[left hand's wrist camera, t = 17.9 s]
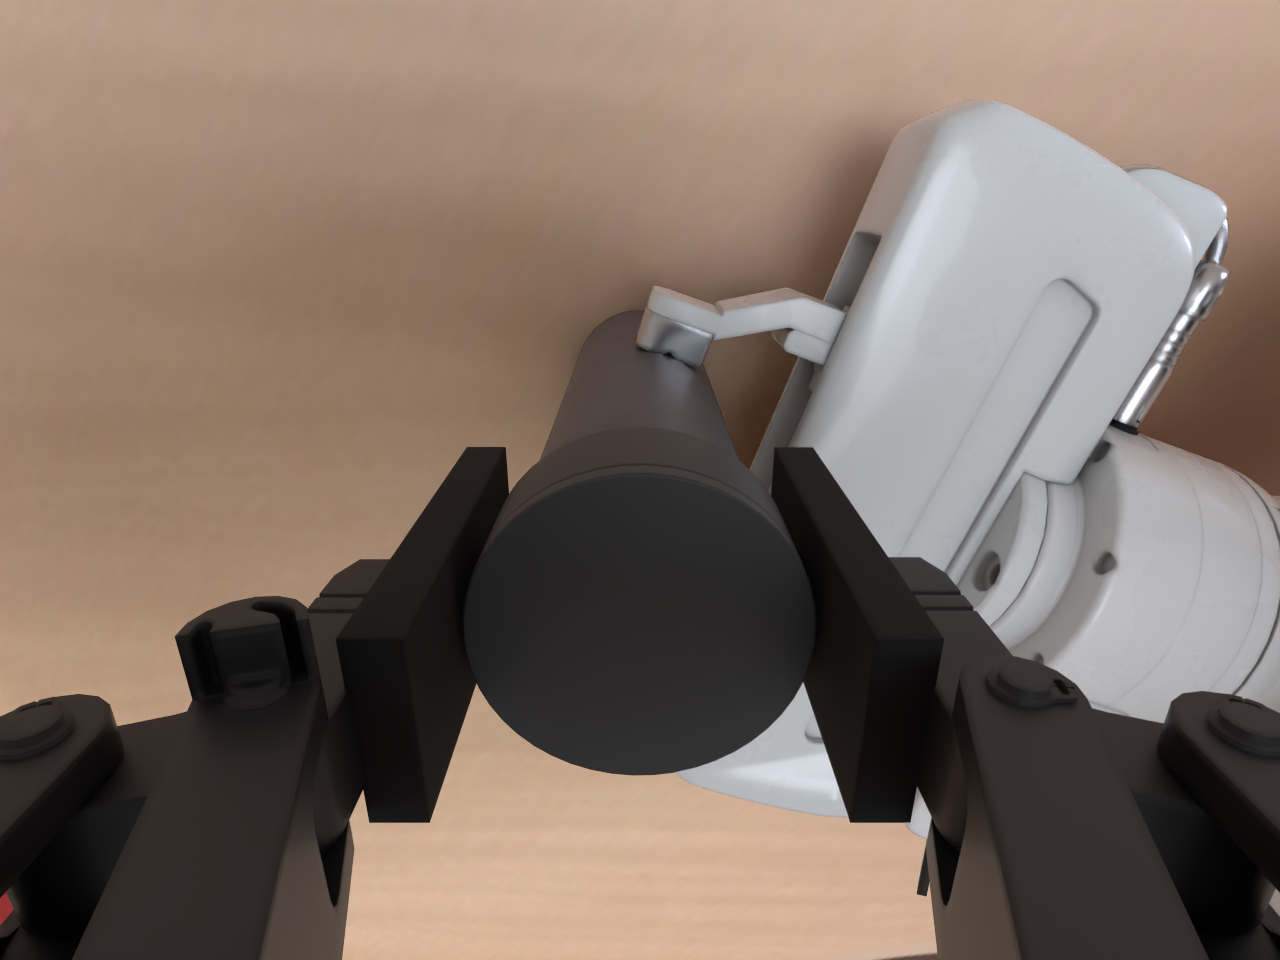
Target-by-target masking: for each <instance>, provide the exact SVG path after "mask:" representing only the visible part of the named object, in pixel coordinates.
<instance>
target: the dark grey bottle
mask: <svg viewBox="0 0 1280 960" xmlns="http://www.w3.org/2000/svg"><path fill="white" fill-rule="evenodd" d="M643 314H644V311H638V310H637V311H628V312H624V313H620V314H618V315H615V316H613V317H611V318H609V319H607V320H606V321H604V322H603V323H602V324H600V325H599V326H598V327H597V328H596V329H595V330H594V331H593V332H592V333H591V334H590V336H589V337H588V339H587V340H586V342H585V344H584V346H583V348H582V350H581V353H580V355H579V358H578V361H577V363H576V366H575V369H574V371H573V374H572V377H571V379H570V382H569V385H568V387H567V390H566V393H565V395H564V398H563V401H562V403H561V406H560V408H559V411H558V414H557V416H556V419H555V422H554V424H553V427H552V430H551V432H550V435H549V438H548V440H547V443H546V446H545V448H544V451H543V454H542V456H541V459H540V460H542V459H543V458H544V457H545V456H547V455H548V454H550V453H551V452H553V451H555V450H556V449H558V448H560V447H561V446H563V445H565V444H567V443H570V442H572V441H574V440H577V439H579V438H581V437H584V436H587V435H590V434H594V433H598V432H601V431H605V430H612V429H618V428H625V427H651V428H661V429H669V430H673V431H677V432H682V433H686V434H689V435H692V436H695V437H698V438H700V439H703V440H706V441H708V442H710V443H712V444H714V445H716V446H718V447H719V448H721V449H723V450H725V451H727V452H728V453H729V454H731V455H732V456H734V457H735V458H736V459H738V460H739V458H738V455H737V453H736V450H735V447H734V445H733V442H732V439H731V437H730V434H729V431H728V429H727V426H726V423H725V421H724V418H723V416H722V413H721V410H720V408H719V405H718V402H717V400H716V397H715V394H714V392H713V389H712V386H711V384H710V381H709V378H708V376H707V373H706V370H705V368H704V365H703V363H702V366H701V368H700V369H699V368H696V367H693V366H690V365H687V364H684V363H682V362H680V361H678V360H675V358H674V357H673V355H672V354H671V353H670V352H669V353H665V354H662V355H661V354H657V353H653V352H650V351H647V350H645V349H643V348H641V347H639V346H638V345H637V344H636V336H637V333H638V330H639V327H640V324H641V321H642V318H643Z"/></svg>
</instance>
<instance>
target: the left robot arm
mask: <svg viewBox="0 0 1280 960" xmlns="http://www.w3.org/2000/svg"><path fill="white" fill-rule="evenodd" d="M508 495H509V488H508V474H507V460H506V447H467V448H466V449H465V451H464V452H463V454H462V455H461V457H460V458H459V460H458V461H457V463H456V464H455V466H454V467H453V468H452V470H451V471H450V473H449V474H448V476H447V477H446V479H445V480H444V482H443V483H442V484H441V486H440V487H439V489H438V490H437V492H436V493H435V495H434V496H433V498H432V499H431V501H430V502H429V503H428V505H427V506H426V508H425V509H424V511H423V512H422V514H421V515H420V517H419V518H418V520H417V521H416V522H415V524H414V525H413V527H412V528H411V530H410V531H409V533H408V534H407V536H406V537H405V538H404V540H403V541H402V543H401V544H400V546H399V547H398V549H397V550H396V552H395V553H394V555H393V556H392V557H391V559H360V560H359V561H357V562H355V563H354V564H352V565H350V566H349V567H347V568H346V569H344V570H342V571H341V572H339V573H338V574H336V575H334V577H333V578H332V579H331V580H330V582H329V583H328V584H327V585H326V587H325V588H324V589H323V590H322V592H321V593H320V597H319V598H316V599H315V600H314V602H313V603H312V604H311V605H310V607H309V608H308V609H307V607H306V606H304V605H303V604H302V603H300V602H299V601H297V600H296V599H291V598H286V597H281V596H266V597H253V598H248V599H243V600H239V601H234V602H230V603H227V604H225V605H222V606H219V607H217V608H214V609H211V610H209V611H206V612H205V613H203V614H202V615H200V616H198V617H197V618H195V619H193V620H192V621H190V622H188V623H187V624H186V625H185V626H184V627H183V628H182V629H181V630H180V631H179V633H178V634H177V635H176V636H175V639H176V643H177V646H178V650H179V653H180V657H181V660H182V664H183V668H184V671H185V675H186V678H187V682H188V685H189V689H190V692H191V696H192V699H193V700H192V702H191V704H190V706H189V709H188V711H187V712H184V713H180V714H176V715H172V716H167V717H162V718H157V719H152V720H147V721H142V722H137V723H132V724H127V725H122V726H117V725H116V722H115V719H114V716H113V713H112V710H111V707H110V704H108V703H107V702H106V701H104V700H103V699H101V698H100V697H99V696H91V695H82V694H75V695H67V696H59V697H51V698H47V699H42V700H39V702H32V703H29V704H26V705H23V706H21V707H18V708H17V709H16V710H14V711H12V712H10V713H7V714H5V715H3V716H1V717H0V898H1V897H2V896H3V895H4V894H5V892H6V894H7V896H8V898H9V900H10V903H11V905H12V907H13V909H14V910H13V911H12V912H11V913H10V914H9V916H8V917H7V918H6V919H5V920H4V922H3V923H2V924H1V925H0V960H342V954H343V945H344V936H345V927H346V918H347V909H348V900H349V891H350V883H351V874H352V865H353V856H354V844H353V838H352V832H351V827H350V822H349V819H350V816H351V814H352V812H353V810H354V808H355V806H356V804H357V801H358V799H359V797H360V795H361V793H362V791H363V790H364V796H365V801H366V806H367V812H368V817H369V823H430V820H431V817H432V814H433V811H434V808H435V805H436V802H437V799H438V796H439V793H440V790H441V787H442V784H443V781H444V778H445V775H446V772H447V769H448V766H449V763H450V760H451V757H452V754H453V751H454V748H455V745H456V743H457V740H458V737H459V734H460V731H461V728H462V725H463V722H464V719H465V716H466V713H467V710H468V707H469V704H470V701H471V698H472V695H473V692H474V689H475V686H476V680H475V678H474V676H473V674H472V672H471V669H470V666H469V662H468V659H467V655H466V652H465V647H464V639H463V632H462V625H463V607H464V601H465V595H466V590H467V587H468V585H469V582H470V579H471V576H472V573H473V570H474V568H475V566H476V564H477V561H478V559H479V557H480V554H481V552H482V550H483V548H484V545H485V543H486V541H487V539H488V536H489V534H490V532H491V530H492V527H493V525H494V523H495V521H496V518H497V516H498V514H499V512H500V510H501V508H502V506H503V504H504V502H505V500H506V498H507V496H508ZM771 497H772V498H773V500H774V502H775V503H776V505H777V507H778V509H779V511H780V514H781V516H782V518H783V520H784V523H785V525H786V527H787V529H788V532H789V534H790V536H791V538H792V541H793V543H794V545H795V548H796V550H797V552H798V554H799V557H800V559H801V561H802V563H803V566H804V568H805V571H806V573H807V576H808V578H809V581H810V583H811V587H812V591H813V595H814V599H815V604H816V617H817V630H816V643H815V648H814V652H813V656H812V660H811V664H810V666H809V669H808V672H807V674H806V677H805V679H804V682H803V683H804V686H805V689H806V692H807V695H808V698H809V701H810V704H811V707H812V710H813V713H814V716H815V719H816V722H817V725H818V728H819V731H820V734H821V737H822V740H823V743H824V746H825V749H826V752H827V754H828V757H829V760H830V763H831V766H832V769H833V772H834V775H835V778H836V781H837V784H838V787H839V790H840V793H841V796H842V799H843V802H844V805H845V808H846V811H847V814H848V817H849V820H850V823H910V822H911V817H912V812H913V806H914V801H915V795H916V790H917V787H918V789H919V791H920V793H921V796H922V798H923V800H924V802H925V804H926V806H927V808H928V811H929V813H930V815H931V822H930V827H929V832H928V837H927V842H926V847H925V852H924V857H923V862H922V867H921V872H920V877H919V883H918V889H917V894H918V895H923V896H927V891H928V886H929V881H930V890H931V899H932V907H933V916H934V925H935V934H936V943H937V952H938V960H1280V921H1279V920H1278V918H1277V917H1276V916H1275V915H1274V914H1273V912H1272V911H1271V910H1270V909H1269V908H1268V905H1269V903H1270V900H1271V898H1272V896H1273V894H1274V892H1275V889H1277V890H1278V892H1279V893H1280V713H1279V712H1277V711H1275V710H1272V709H1270V708H1268V707H1266V706H1265V705H1263V704H1261V703H1259V702H1256V701H1253V700H1250V699H1247V698H1246V699H1243V698H1242V697H1240V696H1236V695H1232V694H1224V693H1216V692H1208V691H1197V692H1189V693H1182V694H1181V695H1179V696H1178V697H1177V698H1175V699H1174V700H1172V701H1171V704H1170V707H1169V710H1168V713H1167V716H1166V719H1165V722H1164V723H1159V722H1154V721H1149V720H1144V719H1139V718H1134V717H1129V716H1124V715H1119V714H1114V713H1109V712H1105V711H1101V710H1097V709H1093V708H1092V707H1091V705H1090V703H1089V701H1088V699H1087V697H1086V696H1085V695H1084V694H1083V692H1082V691H1081V690H1080V688H1079V687H1078V686H1077V685H1076V684H1075V683H1074V682H1072V681H1071V680H1070V679H1068V678H1067V677H1065V676H1064V675H1062V674H1061V673H1060V672H1058V671H1056V670H1054V669H1052V668H1050V667H1047V666H1045V665H1043V664H1040V663H1038V662H1036V661H1033V660H1029V659H1024V658H1020V657H1016V656H1013V655H1012V654H1011V653H1010V652H1009V650H1008V649H1007V648H1006V647H1005V645H1004V644H1003V643H1002V642H1001V640H1000V639H999V638H998V637H997V636H996V634H995V633H994V632H993V631H992V629H991V628H990V627H989V626H988V624H987V623H986V622H985V621H984V619H983V618H982V617H981V616H980V615H979V613H978V612H977V611H974V610H973V606H972V605H971V603H970V602H969V601H968V600H967V598H966V597H965V596H964V595H961V591H960V590H959V589H958V587H957V586H956V585H955V584H954V582H953V581H952V580H951V579H950V577H949V576H948V575H947V574H946V573H945V572H943V571H942V570H940V569H939V568H937V567H935V566H934V565H932V564H930V563H929V562H927V561H926V560H924V559H922V558H921V557H888V556H887V555H886V553H885V552H884V550H883V549H882V547H881V546H880V544H879V543H878V541H877V540H876V538H875V537H874V536H873V534H872V533H871V531H870V530H869V528H868V527H867V525H866V524H865V522H864V521H863V520H862V518H861V517H860V515H859V514H858V512H857V511H856V509H855V508H854V506H853V505H852V503H851V502H850V501H849V499H848V498H847V496H846V495H845V493H844V492H843V490H842V489H841V487H840V486H839V485H838V483H837V482H836V480H835V479H834V477H833V476H832V474H831V473H830V471H829V470H828V468H827V467H826V466H825V464H824V463H823V461H822V460H821V458H820V457H819V455H818V454H817V452H816V451H815V450H814V448H813V447H774V460H773V474H772V487H771Z"/></svg>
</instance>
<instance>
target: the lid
mask: <svg viewBox="0 0 1280 960" xmlns="http://www.w3.org/2000/svg"><path fill="white" fill-rule="evenodd" d="M816 630H817V617H816V604H815V599H814V595H813V591H812V587H811V583H810V581H809V578H808V576H807V573H806V571H805V568H804V566H803V563H802V561H801V559H800V557H799V554H798V552H797V550H796V548H795V545H794V543H793V541H792V538H791V536H790V534H789V532H788V529H787V527H786V525H785V523H784V520H783V518H782V516H781V514H780V511H779V509H778V507H777V505H776V503H775V502H774V500H773V498H772V497H771V495H770V493H769V491H768V490H767V489H766V488H765V486H764V485H763V484H762V483H761V481H760V480H759V479H758V478H757V476H756V475H755V474H754V473H753V472H752V471H750V470H749V469H748V468H747V467H746V466H745V465H744V464H743V463H742V462H741V461H739V460H738V459H736V458H735V457H734V456H732V455H731V454H729V453H728V452H727V451H725V450H723V449H721V448H719V447H718V446H716V445H714V444H712V443H710V442H708V441H706V440H703V439H700V438H698V437H695V436H692V435H689V434H686V433H682V432H677V431H673V430H669V429H661V428H651V427H625V428H618V429H612V430H605V431H601V432H598V433H594V434H590V435H587V436H584V437H581V438H579V439H577V440H574V441H572V442H570V443H567V444H565V445H563V446H561V447H560V448H558V449H556V450H555V451H553V452H551V453H550V454H548V455H547V456H545V457H544V458H543V459H542V460H540V461H539V462H538V463H536V464H535V465H534V466H533V467H532V468H531V469H530V470H529V471H528V472H527V473H526V474H525V475H524V476H523V477H522V478H521V479H520V480H519V481H518V483H517V484H516V485H515V487H514V488H513V489H512V491H511V492H510V494H509V495H508V496H507V498H506V500H505V502H504V504H503V506H502V508H501V510H500V512H499V514H498V516H497V518H496V521H495V523H494V525H493V527H492V530H491V532H490V534H489V536H488V539H487V541H486V543H485V545H484V548H483V550H482V552H481V554H480V557H479V559H478V561H477V564H476V566H475V568H474V570H473V573H472V576H471V579H470V582H469V585H468V587H467V590H466V595H465V601H464V607H463V625H462V632H463V639H464V647H465V652H466V655H467V659H468V662H469V666H470V669H471V672H472V674H473V676H474V678H475V680H476V683H477V685H478V687H479V689H480V690H481V692H482V694H483V695H484V697H485V698H486V700H487V701H488V703H489V705H490V706H491V707H492V708H493V709H494V711H495V712H496V713H497V714H498V715H499V716H500V718H501V719H502V720H503V721H504V722H505V723H506V724H507V725H508V726H510V727H511V728H512V729H513V730H514V731H515V732H516V733H517V734H518V735H520V736H521V737H523V738H524V739H525V740H527V741H528V742H530V743H531V744H532V745H534V746H535V747H537V748H539V749H541V750H543V751H544V752H546V753H548V754H550V755H552V756H554V757H556V758H559V759H561V760H563V761H566V762H568V763H571V764H574V765H577V766H581V767H584V768H587V769H591V770H596V771H601V772H606V773H611V774H623V775H658V774H666V773H674V772H679V771H683V770H688V769H692V768H696V767H699V766H702V765H705V764H708V763H711V762H714V761H716V760H718V759H721V758H723V757H725V756H727V755H729V754H731V753H733V752H735V751H737V750H738V749H740V748H742V747H743V746H745V745H747V744H748V743H750V742H752V741H753V740H754V739H755V738H757V737H758V736H759V735H760V734H762V733H763V732H764V731H766V730H767V729H768V728H769V727H770V726H771V725H772V724H773V723H774V722H775V721H776V720H777V719H778V718H779V717H780V716H781V715H782V714H783V712H784V711H785V710H786V708H787V707H788V706H789V704H790V703H791V702H792V700H793V699H794V697H795V696H796V694H797V692H798V690H799V689H800V687H801V685H802V683H803V682H804V679H805V677H806V674H807V672H808V669H809V666H810V664H811V660H812V656H813V652H814V648H815V643H816Z"/></svg>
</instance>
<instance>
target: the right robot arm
mask: <svg viewBox="0 0 1280 960" xmlns="http://www.w3.org/2000/svg"><path fill="white" fill-rule="evenodd" d="M1228 235H1229V225H1228V220H1227V206H1226V205H1225V203H1224V202H1223V200H1222V199H1221V198H1220V197H1219V196H1218V195H1217V194H1215V193H1214V192H1212V191H1211V190H1209V189H1207V188H1206V187H1205V186H1203V185H1200V184H1198V183H1196V182H1193V181H1191V180H1188V179H1186V178H1184V177H1181V176H1179V175H1177V174H1174V173H1172V172H1169V171H1167V170H1165V169H1162V168H1160V167H1158V166H1152V165H1147V164H1134V165H1128V166H1122V167H1119V166H1117V165H1116V164H1114V163H1113V162H1111V161H1110V160H1108V159H1107V158H1105V157H1103V156H1102V155H1100V154H1099V153H1097V152H1096V151H1094V150H1093V149H1091V148H1089V147H1088V146H1086V145H1084V144H1083V143H1081V142H1079V141H1077V140H1076V139H1074V138H1072V137H1071V136H1069V135H1067V134H1065V133H1064V132H1062V131H1060V130H1058V129H1057V128H1055V127H1053V126H1051V125H1049V124H1047V123H1045V122H1043V121H1041V120H1039V119H1038V118H1036V117H1034V116H1032V115H1030V114H1028V113H1026V112H1024V111H1021V110H1019V109H1017V108H1015V107H1012V106H1010V105H1007V104H1004V103H1002V102H998V101H994V100H972V101H966V102H961V103H957V104H954V105H950V106H947V107H945V108H942V109H940V110H937V111H935V112H932V113H930V114H928V115H926V116H924V117H922V118H920V119H918V120H916V121H914V122H912V123H909V124H907V125H906V126H904V127H903V128H902V129H900V130H899V132H898V133H897V134H896V135H895V137H894V139H893V140H892V143H891V145H890V147H889V149H888V151H887V154H886V156H885V158H884V161H883V163H882V165H881V168H880V170H879V172H878V174H877V177H876V179H875V181H874V184H873V186H872V188H871V191H870V193H869V195H868V197H867V200H866V202H865V204H864V207H863V209H862V211H861V214H860V216H859V218H858V221H857V223H856V225H855V227H854V230H853V232H852V234H851V237H850V239H849V241H848V244H847V246H846V248H845V250H844V253H843V255H842V257H841V260H840V262H839V264H838V267H837V269H836V271H835V273H834V276H833V278H832V280H831V283H830V285H829V287H828V290H827V292H826V294H825V296H824V299H823V300H820V299H818V298H815V297H812V296H809V295H806V294H804V293H801V292H798V291H795V290H793V289H790V288H787V287H785V288H780V289H775V290H770V291H765V292H760V293H755V294H750V295H745V296H740V297H735V298H730V299H725V300H720V301H717V302H716V304H715V305H712V304H709V303H706V302H704V301H701V300H698V299H695V298H693V297H690V296H687V295H684V294H682V293H679V292H676V291H673V290H670V289H668V288H664V287H660V286H655V285H653V288H652V291H651V294H650V297H649V300H648V303H647V305H646V308H645V311H644V314H643V318H642V321H641V324H640V327H639V330H638V333H637V336H636V344H637V345H638V346H639V347H641V348H643V349H645V350H647V351H650V352H653V353H657V354H661V355H662V354H665V353H669V352H670V353H671V354H672V355H673V357H674V358H675V360H678V361H680V362H682V363H684V364H687V365H690V366H693V367H696V368H699V369H700V368H701V366H702V363H703V361H704V358H705V356H706V353H707V351H708V349H709V346H710V344H711V341H712V339H713V340H720V339H726V338H732V337H737V336H743V335H749V334H755V333H761V332H766V331H770V334H771V336H772V338H773V339H774V340H775V341H776V342H777V343H778V344H779V345H780V346H781V347H782V348H783V349H784V350H785V351H786V352H789V353H791V354H794V355H796V356H798V359H797V361H796V363H795V365H794V368H793V370H792V372H791V375H790V377H789V379H788V382H787V384H786V386H785V388H784V391H783V393H782V395H781V398H780V400H779V402H778V405H777V407H776V409H775V411H774V414H773V416H772V418H771V421H770V423H769V425H768V428H767V430H766V432H765V434H764V437H763V439H762V441H761V444H760V446H759V448H758V451H757V453H756V455H755V457H754V460H753V462H752V464H751V467H750V469H749V470H750V471H752V472H753V473H754V474H755V475H756V476H757V478H758V479H759V480H760V481H761V483H762V484H763V485H764V486H765V488H766V489H767V490H768V491H769V493H770V495H771V487H772V474H773V460H774V447H813V448H814V450H815V451H816V452H817V454H818V455H819V457H820V458H821V460H822V461H823V463H824V464H825V466H826V467H827V468H828V470H829V471H830V473H831V474H832V476H833V477H834V479H835V480H836V482H837V483H838V485H839V486H840V487H841V489H842V490H843V492H844V493H845V495H846V496H847V498H848V499H849V501H850V502H851V503H852V505H853V506H854V508H855V509H856V511H857V512H858V514H859V515H860V517H861V518H862V520H863V521H864V522H865V524H866V525H867V527H868V528H869V530H870V531H871V533H872V534H873V536H874V537H875V538H876V540H877V541H878V543H879V544H880V546H881V547H882V549H883V550H884V552H885V553H886V555H887V556H888V557H921V558H922V559H924V560H926V561H927V562H929V563H930V564H932V565H934V566H935V567H937V568H939V569H940V570H942V571H943V572H945V573H946V574H947V575H948V576H949V577H950V579H951V580H952V581H953V582H954V584H955V585H956V586H957V587H958V589H959V590H960V591H961V595H964V596H965V597H966V598H967V600H968V601H969V602H970V603H971V605H972V606H973V610H974V611H977V612H978V613H979V615H980V616H981V617H982V618H983V619H984V621H985V622H986V623H987V624H988V626H989V627H990V628H991V629H992V631H993V632H994V633H995V634H996V636H997V637H998V638H999V639H1000V640H1001V642H1002V643H1003V644H1004V645H1005V647H1006V648H1007V649H1008V650H1009V652H1010V653H1011V654H1012V655H1013V656H1016V657H1020V658H1024V659H1029V660H1033V661H1036V662H1038V663H1040V664H1043V665H1045V666H1047V667H1050V668H1052V669H1054V670H1056V671H1058V672H1060V673H1061V674H1062V675H1064V676H1065V677H1067V678H1068V679H1070V680H1071V681H1072V682H1074V683H1075V684H1076V685H1077V686H1078V687H1079V688H1080V690H1081V691H1082V692H1083V694H1084V695H1085V696H1086V697H1087V699H1088V701H1089V703H1090V705H1091V707H1092V708H1093V709H1097V710H1101V711H1105V712H1109V713H1114V714H1119V715H1124V716H1129V717H1134V718H1139V719H1144V720H1149V721H1154V722H1159V723H1164V722H1165V719H1166V716H1167V713H1168V710H1169V707H1170V704H1171V701H1172V700H1174V699H1175V698H1177V697H1178V696H1179V695H1181V694H1182V693H1189V692H1197V691H1208V692H1216V693H1224V694H1232V695H1236V696H1240V697H1242V698H1243V699H1246V698H1247V699H1250V700H1253V701H1256V702H1259V703H1261V704H1263V705H1265V706H1266V707H1268V708H1270V709H1272V710H1275V711H1277V712H1279V713H1280V496H1271V495H1270V494H1269V493H1268V492H1267V491H1266V490H1264V489H1263V488H1262V487H1260V486H1259V485H1258V484H1256V483H1255V482H1254V481H1252V480H1251V479H1249V478H1248V477H1247V476H1245V475H1243V474H1241V473H1240V472H1238V471H1236V470H1234V469H1232V468H1230V467H1228V466H1226V465H1224V464H1222V463H1219V462H1216V461H1213V460H1210V459H1207V458H1205V457H1202V456H1199V455H1197V454H1194V453H1191V452H1188V451H1186V450H1183V449H1180V448H1177V447H1175V446H1172V445H1169V444H1167V443H1164V442H1161V441H1158V440H1156V439H1153V438H1150V437H1147V436H1145V435H1143V434H1140V433H1139V432H1138V431H1136V430H1137V429H1138V427H1139V426H1140V424H1141V422H1142V421H1143V420H1144V418H1145V416H1146V415H1147V413H1148V412H1149V410H1150V408H1151V407H1152V405H1153V404H1154V402H1155V400H1156V399H1157V397H1158V396H1159V394H1160V393H1161V391H1162V389H1163V388H1164V386H1165V385H1166V383H1167V381H1168V379H1169V378H1170V376H1171V374H1172V372H1173V370H1174V369H1173V367H1174V366H1176V364H1177V361H1178V358H1177V357H1178V356H1180V355H1181V353H1182V351H1183V348H1182V347H1183V346H1186V344H1187V342H1188V341H1189V338H1188V337H1189V336H1192V334H1193V333H1194V331H1195V330H1196V328H1197V326H1198V325H1199V323H1200V322H1201V321H1205V319H1206V318H1207V317H1208V316H1209V315H1210V313H1211V312H1212V310H1213V309H1214V308H1215V306H1216V304H1217V303H1218V301H1219V299H1220V298H1221V296H1222V294H1223V291H1224V289H1225V287H1226V285H1227V282H1228V280H1229V276H1230V271H1229V270H1228V269H1227V268H1225V267H1222V266H1221V264H1222V261H1223V258H1224V255H1225V253H1226V250H1227V244H1228ZM1205 252H1206V253H1205ZM1204 254H1205V256H1204V259H1203V261H1202V260H1201V259H1202V257H1203V255H1204ZM675 773H676V774H677V775H678V776H679V777H680V778H681V779H683V780H685V781H687V782H689V783H691V784H693V785H696V786H699V787H701V788H704V789H707V790H711V791H714V792H718V793H721V794H725V795H728V796H732V797H735V798H739V799H743V800H747V801H751V802H755V803H759V804H764V805H768V806H773V807H777V808H781V809H786V810H791V811H796V812H801V813H806V814H812V815H819V816H827V817H848V814H847V811H846V808H845V805H844V802H843V799H842V796H841V793H840V790H839V787H838V784H837V781H836V778H835V775H834V772H833V769H832V766H831V763H830V760H829V757H828V754H827V752H826V749H825V746H824V743H823V740H822V737H821V734H820V731H819V728H818V725H817V722H816V719H815V716H814V713H813V710H812V707H811V704H810V701H809V698H808V695H807V692H806V689H805V686H804V683H802V685H801V687H800V689H799V690H798V692H797V694H796V696H795V697H794V699H793V700H792V702H791V703H790V704H789V706H788V707H787V708H786V710H785V711H784V712H783V714H782V715H781V716H780V717H779V718H778V719H777V720H776V721H775V722H774V723H773V724H772V725H771V726H770V727H769V728H768V729H767V730H766V731H764V732H763V733H762V734H760V735H759V736H758V737H757V738H755V739H754V740H753V741H752V742H750V743H748V744H747V745H745V746H743V747H742V748H740V749H738V750H737V751H735V752H733V753H731V754H729V755H727V756H725V757H723V758H721V759H718V760H716V761H714V762H711V763H708V764H705V765H702V766H699V767H696V768H692V769H688V770H683V771H679V772H675ZM930 822H931V815H930V813H929V811H928V808H927V806H926V804H925V802H924V800H923V798H922V796H921V793H920V791H919V789H918V787H917V790H916V795H915V801H914V806H913V812H912V817H911V822H910V823H905V825H906V827H907V828H908V829H909V830H910V831H911V832H912V833H913V834H915V835H917V836H920V837H922V838H925V839H927V837H928V832H929V827H930ZM1268 908H1269V909H1270V910H1271V911H1272V912H1273V914H1274V915H1275V916H1276V917H1277V918H1278V920H1279V921H1280V893H1279V892H1278V890H1277V889H1275V892H1274V894H1273V896H1272V898H1271V900H1270V903H1269V905H1268Z"/></svg>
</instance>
